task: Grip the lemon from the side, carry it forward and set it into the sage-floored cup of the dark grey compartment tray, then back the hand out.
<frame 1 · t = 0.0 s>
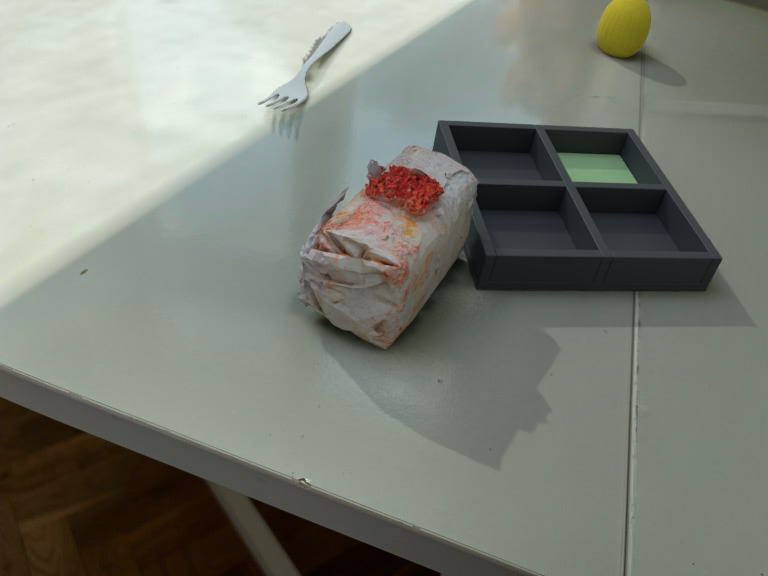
fork: (311, 70, 80), on the table
dark grey compartment tray: (558, 216, 65), on the table
food item: (384, 289, 56), on the table
lemon: (611, 62, 90), on the table
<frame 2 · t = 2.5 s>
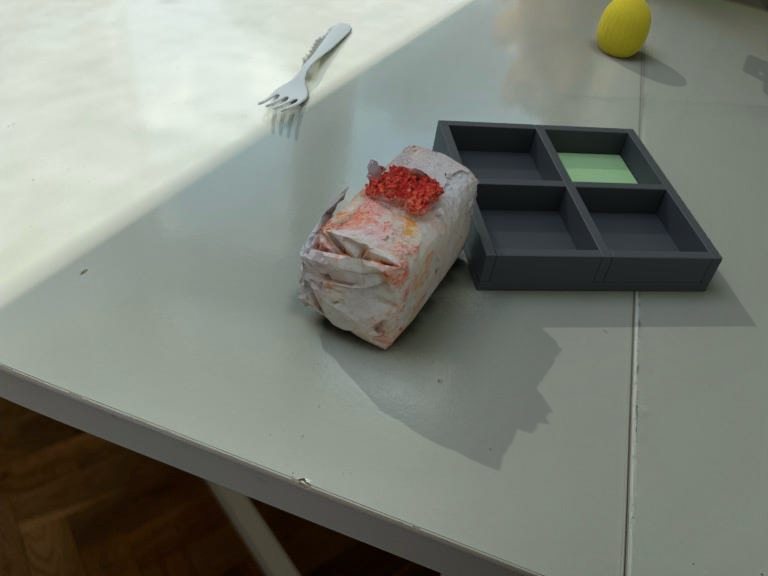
nothing on the table moved.
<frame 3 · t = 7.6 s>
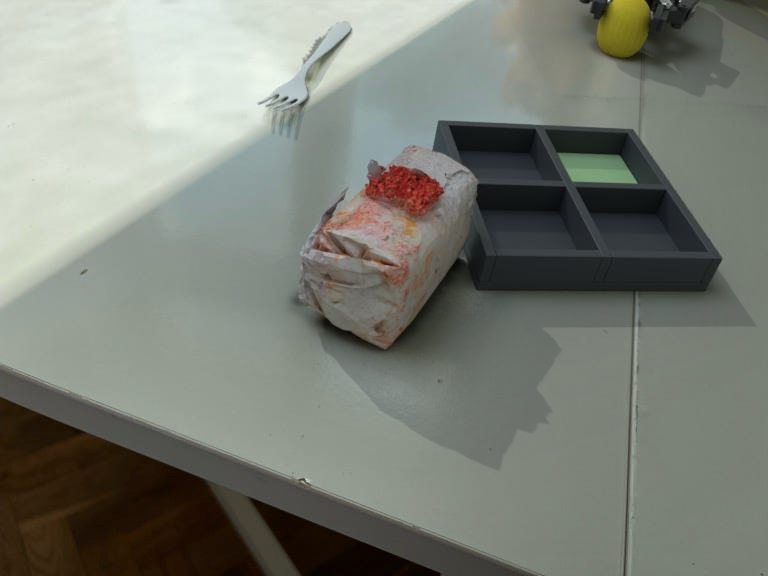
hand: (626, 18, 84), 6 cm above the table, tool horizontal, fingers closed on lemon, 5 cm apart
lemon: (611, 62, 90), on the table, touching gripper
everything else where it was.
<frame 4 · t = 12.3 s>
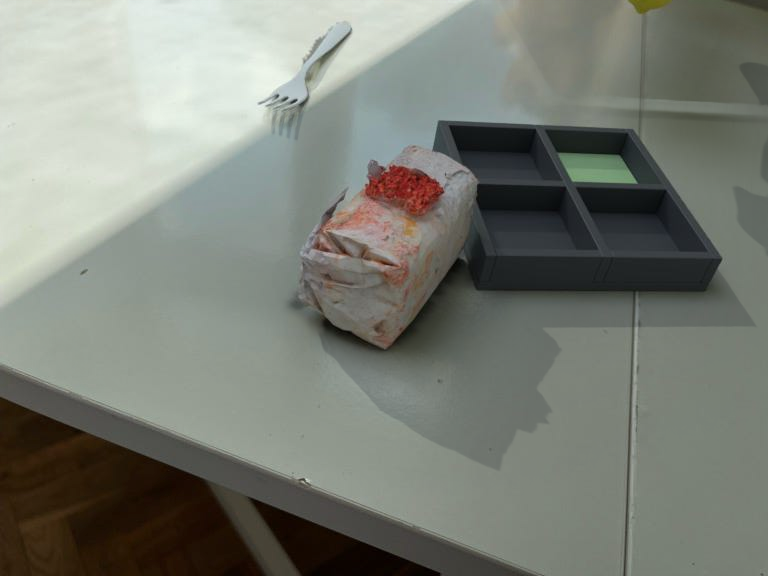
lemon: (639, 15, 70), point 12 cm above the table, touching gripper
everything else where it was.
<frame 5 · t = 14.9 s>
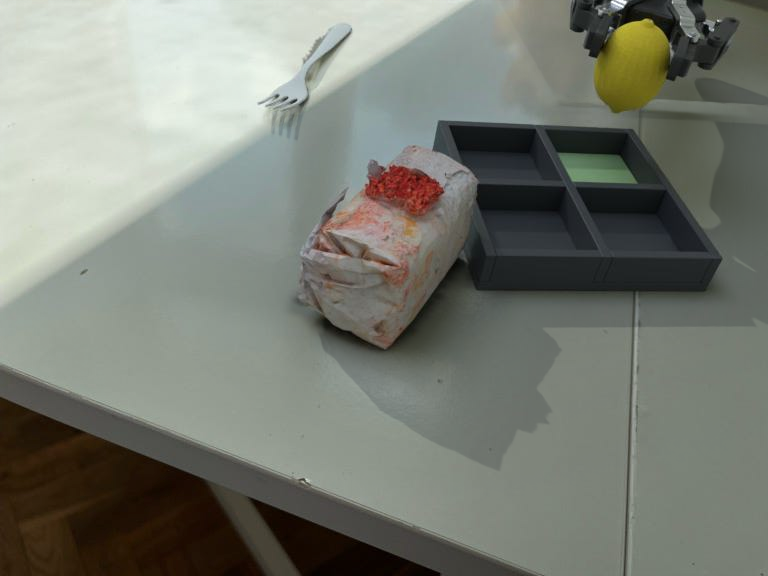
hand: (635, 57, 59), 13 cm above the table, tool horizontal, fingers closed on lemon, 5 cm apart
lemon: (614, 114, 65), point 7 cm above the table, touching gripper
everything else where it was.
when the fingers open (7 cm above the table, at t = 17.1 s): lemon stays where it is, resting on dark grey compartment tray.
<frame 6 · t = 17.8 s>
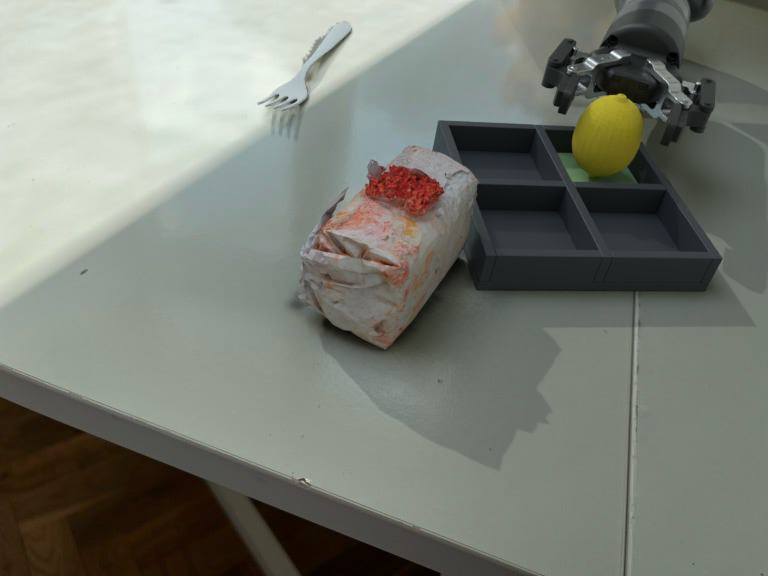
hand: (615, 119, 63), 8 cm above the table, tool horizontal, fingers open, 8 cm apart
lemon: (591, 178, 69), point 1 cm above the table, touching dark grey compartment tray
everything else where it was.
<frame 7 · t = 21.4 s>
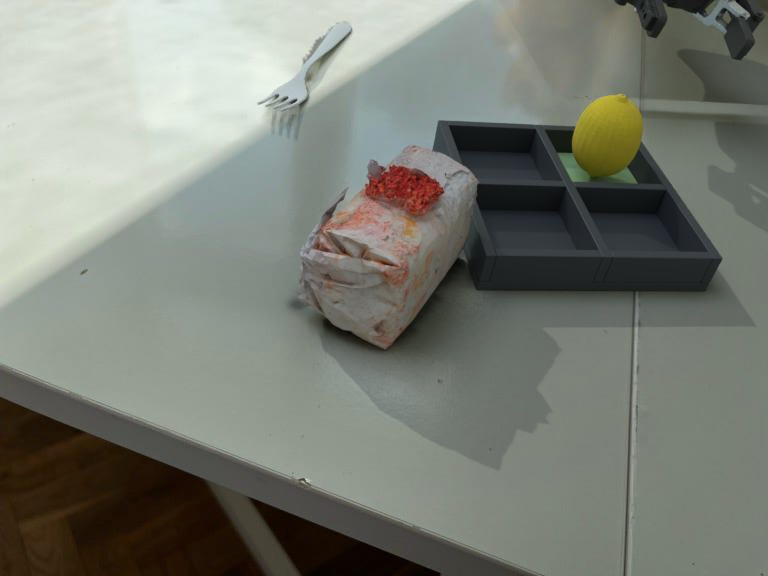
hand: (701, 40, 70), 11 cm above the table, tool horizontal, fingers open, 8 cm apart
nothing on the table moved.
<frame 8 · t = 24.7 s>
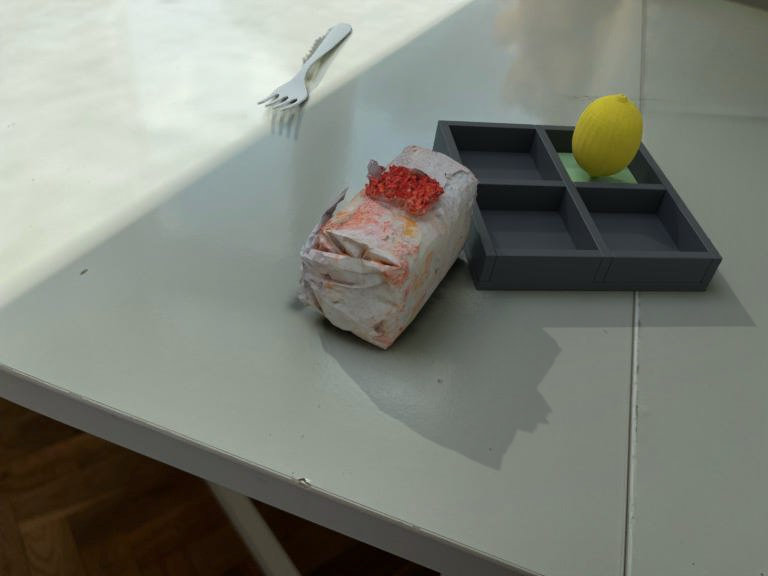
nothing on the table moved.
at the end: lemon 0.1 cm from the target spot in the dark grey compartment tray, point 0.8 cm above the dark grey compartment tray's base; the gripper is holding nothing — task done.
